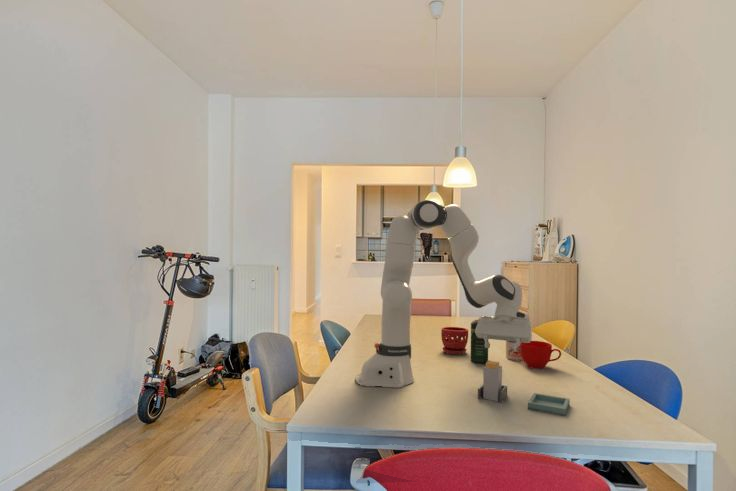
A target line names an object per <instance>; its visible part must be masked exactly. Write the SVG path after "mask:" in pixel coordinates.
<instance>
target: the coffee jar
mask: <svg viewBox="0 0 736 491" xmlns="http://www.w3.org/2000/svg"><path fill="white" fill-rule="evenodd" d="M477 324H478V319H475V320H473V321H471V323H470V362H472V363H473V362H474V363H477V364H483V363H484V364H486V363H487V362H488V361H489V348H485V341H484V338H478V337H477V335H476V333H475V329H476V326H477ZM487 342H489V340H488V341H487Z"/></svg>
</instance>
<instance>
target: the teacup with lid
mask: <svg viewBox="0 0 736 491" xmlns="http://www.w3.org/2000/svg"><path fill="white" fill-rule="evenodd" d="M515 343H516V342H513V341H505V358H506V359H508V360H511V361H524V360H523V359H522V356H521V351H520V345H519V346H518V347H517V348H516V351H511V345H514V344H515Z"/></svg>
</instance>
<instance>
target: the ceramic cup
mask: <svg viewBox="0 0 736 491" xmlns="http://www.w3.org/2000/svg"><path fill="white" fill-rule="evenodd" d="M552 347H553V345H552V343H549V342H545V341H539V340H531V342H530V343H523V342H521V343H520V351H521V356H522V359H523V360H522V361H523V362H524V363H525V364H526V366H527V367H528V368H531V369H544V367H546V366H547V365H548V364H549V362H554V361H557V360H559V359H561V357H562V351H561V350H560V349H559V348H552ZM554 352H558V353H559V354H558V357H556V358H551V357H552V353H554Z"/></svg>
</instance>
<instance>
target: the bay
mask: <svg viewBox="0 0 736 491" xmlns="http://www.w3.org/2000/svg"><path fill="white" fill-rule="evenodd" d="M507 397H508V385H503V384H502V390H501V391H500V392H499V402H498V403H500V404H503V402H504V401H505V400H506V399H507ZM482 398H483V383H482V384H480V386H479V387H477V400H480V399H482Z"/></svg>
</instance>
